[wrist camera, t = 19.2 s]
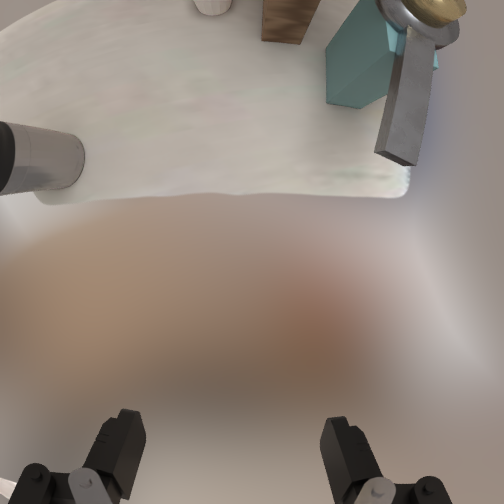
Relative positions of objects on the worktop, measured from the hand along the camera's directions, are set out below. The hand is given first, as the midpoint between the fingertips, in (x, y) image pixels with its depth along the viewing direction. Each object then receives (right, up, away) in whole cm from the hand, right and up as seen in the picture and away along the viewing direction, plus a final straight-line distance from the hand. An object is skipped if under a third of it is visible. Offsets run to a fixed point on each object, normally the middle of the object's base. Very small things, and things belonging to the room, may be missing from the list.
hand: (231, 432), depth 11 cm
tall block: (+15, +35, +27) cm, 47 cm away
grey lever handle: (+15, +25, +8) cm, 30 cm away
